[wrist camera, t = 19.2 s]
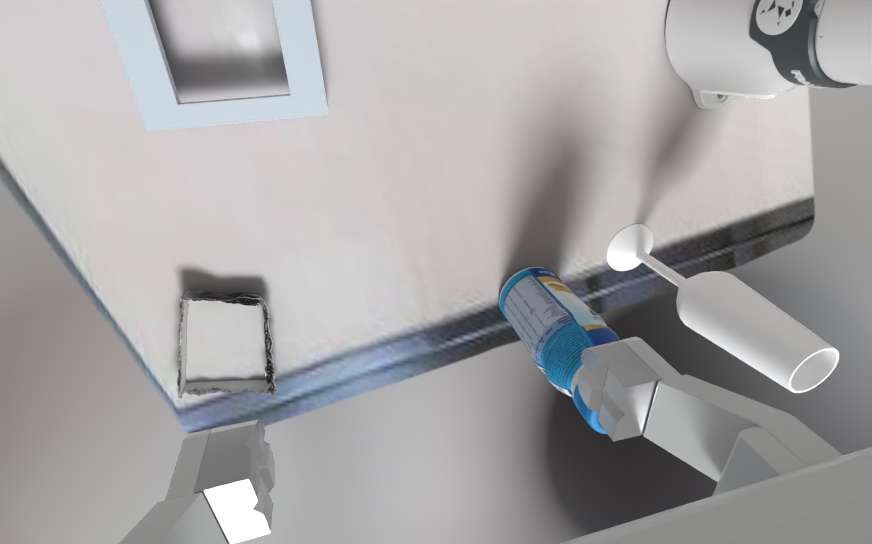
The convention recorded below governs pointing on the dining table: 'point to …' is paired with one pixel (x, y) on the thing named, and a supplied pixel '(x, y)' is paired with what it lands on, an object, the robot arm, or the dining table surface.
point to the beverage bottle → (554, 329)
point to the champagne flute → (735, 317)
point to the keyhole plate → (165, 111)
